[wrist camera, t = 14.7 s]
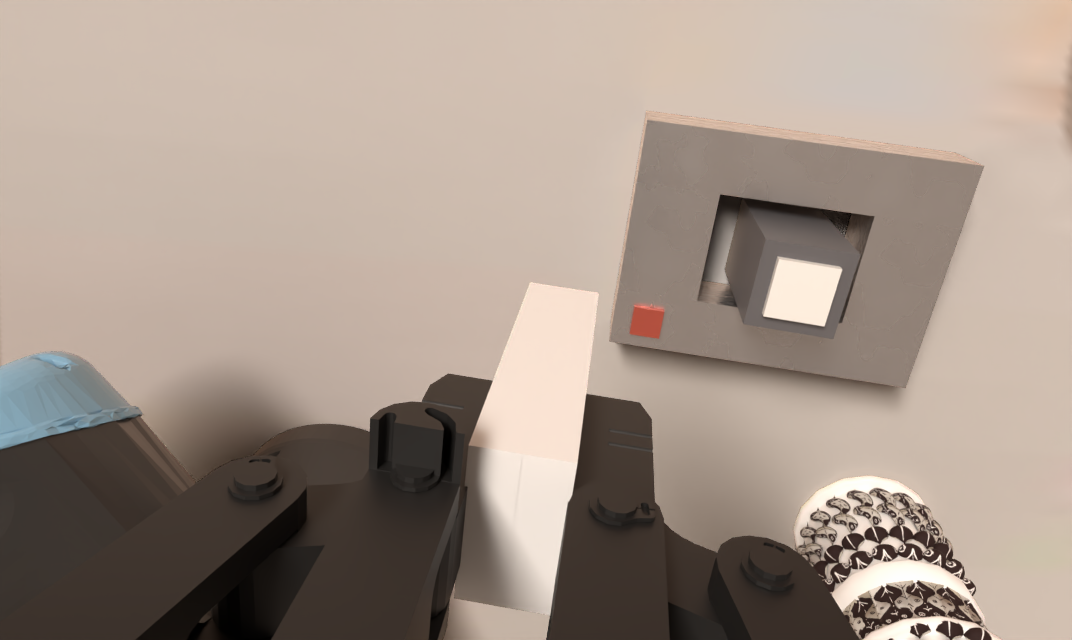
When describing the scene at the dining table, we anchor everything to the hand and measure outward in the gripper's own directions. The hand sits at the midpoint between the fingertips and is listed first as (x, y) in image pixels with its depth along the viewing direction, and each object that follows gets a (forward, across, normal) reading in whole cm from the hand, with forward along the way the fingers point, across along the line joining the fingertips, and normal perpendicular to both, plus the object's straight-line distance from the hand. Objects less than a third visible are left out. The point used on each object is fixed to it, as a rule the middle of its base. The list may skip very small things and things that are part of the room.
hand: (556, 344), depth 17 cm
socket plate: (+26, -10, +4) cm, 29 cm away
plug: (+26, -10, +4) cm, 29 cm away
